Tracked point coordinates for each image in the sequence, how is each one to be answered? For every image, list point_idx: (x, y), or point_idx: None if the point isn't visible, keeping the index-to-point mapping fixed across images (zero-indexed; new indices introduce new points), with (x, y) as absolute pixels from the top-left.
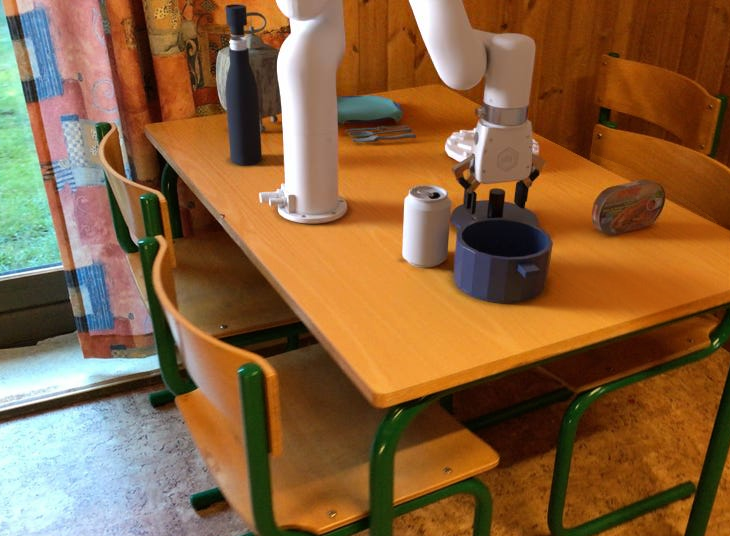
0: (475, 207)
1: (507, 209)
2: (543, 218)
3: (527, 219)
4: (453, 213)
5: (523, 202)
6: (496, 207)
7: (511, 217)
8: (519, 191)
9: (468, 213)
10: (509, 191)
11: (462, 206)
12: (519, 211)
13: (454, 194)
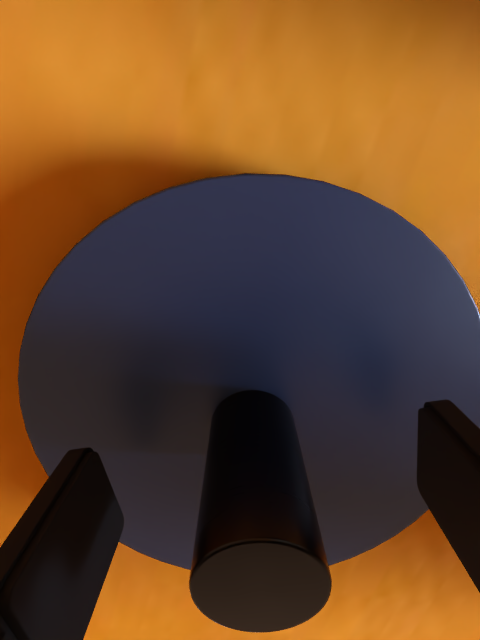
0: (445, 435)
1: (164, 494)
2: (2, 432)
3: (78, 388)
4: None
5: (62, 479)
6: (268, 444)
7: (162, 417)
8: (61, 584)
9: (371, 473)
10: (117, 632)
11: (369, 536)
12: (107, 472)
13: (329, 628)
